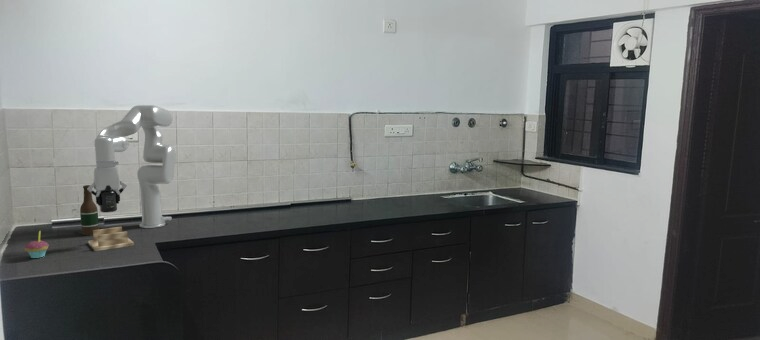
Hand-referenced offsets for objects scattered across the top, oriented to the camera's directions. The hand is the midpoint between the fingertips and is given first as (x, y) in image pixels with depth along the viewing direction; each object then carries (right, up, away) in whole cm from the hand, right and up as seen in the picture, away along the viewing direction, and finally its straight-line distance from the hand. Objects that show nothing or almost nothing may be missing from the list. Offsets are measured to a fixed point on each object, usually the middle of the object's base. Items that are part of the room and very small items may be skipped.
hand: (108, 203), depth 249 cm
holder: (0, -19, +2) cm, 19 cm away
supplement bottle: (0, -3, 0) cm, 3 cm away
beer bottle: (-19, -16, +22) cm, 33 cm away
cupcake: (-21, -22, -18) cm, 35 cm away
